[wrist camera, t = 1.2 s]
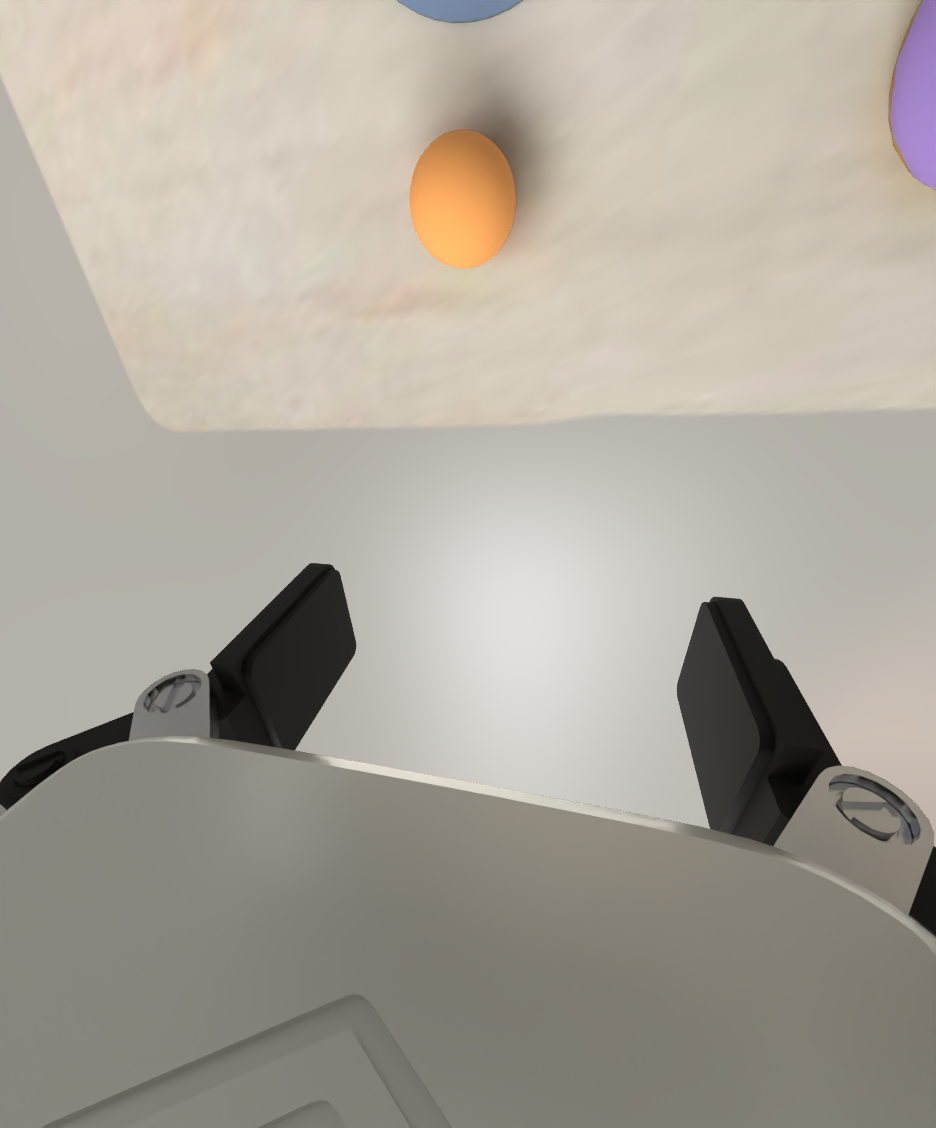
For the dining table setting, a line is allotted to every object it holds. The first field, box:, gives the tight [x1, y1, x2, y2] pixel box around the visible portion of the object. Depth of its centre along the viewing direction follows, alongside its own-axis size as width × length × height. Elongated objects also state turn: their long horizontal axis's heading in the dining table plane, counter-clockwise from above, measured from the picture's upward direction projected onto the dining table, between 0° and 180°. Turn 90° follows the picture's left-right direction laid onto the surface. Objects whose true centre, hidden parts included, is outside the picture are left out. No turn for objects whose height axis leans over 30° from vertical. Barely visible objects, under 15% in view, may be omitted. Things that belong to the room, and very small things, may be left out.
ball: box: [410, 130, 516, 269], centre depth 20 cm, size 5×5×5 cm
